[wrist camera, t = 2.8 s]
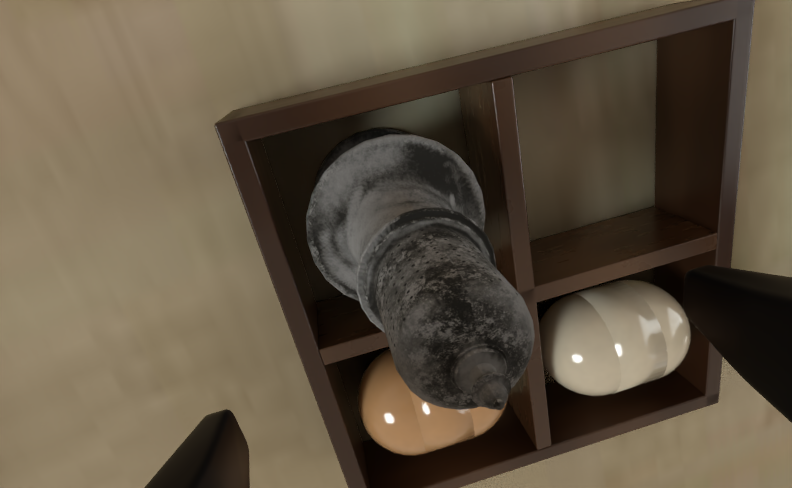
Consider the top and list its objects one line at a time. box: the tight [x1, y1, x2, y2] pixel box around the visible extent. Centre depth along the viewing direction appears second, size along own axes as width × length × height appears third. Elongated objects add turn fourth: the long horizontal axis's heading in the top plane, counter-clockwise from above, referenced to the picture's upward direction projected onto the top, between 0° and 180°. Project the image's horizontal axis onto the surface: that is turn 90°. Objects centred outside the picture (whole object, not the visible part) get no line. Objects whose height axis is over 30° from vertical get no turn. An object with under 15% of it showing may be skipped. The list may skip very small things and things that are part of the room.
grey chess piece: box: [306, 129, 535, 410], centre depth 13 cm, size 6×6×12 cm
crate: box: [215, 0, 755, 488], centre depth 18 cm, size 17×17×4 cm
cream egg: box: [539, 280, 691, 396], centre depth 20 cm, size 6×4×4 cm
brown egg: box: [357, 349, 508, 456], centre depth 19 cm, size 6×4×4 cm
